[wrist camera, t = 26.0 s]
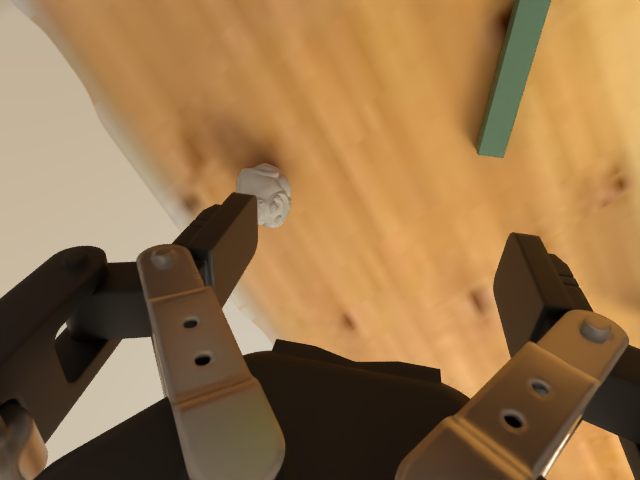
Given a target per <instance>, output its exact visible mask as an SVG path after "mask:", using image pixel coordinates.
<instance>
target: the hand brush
mask: <svg viewBox="0 0 640 480" xmlns="http://www.w3.org/2000/svg"><path fill="white" fill-rule="evenodd" d="M550 2H551V0H515V1H514V4H513V8H512V12H511V16H510V20H509V23H508V27H507V31H506V35H505V39H504V42H503V46H502V50H501V54H500V57H499V61H498V65H497V69H496V73H495V76H494V80H493V84H492V88H491V91H490V95H489V99H488V103H487V107H486V110H485V114H484V118H483V122H482V126H481V129H480V133H479V137H478V141H477V144H476V151H477V153H478V155H484V156H492V157H500V158H503V157H504V154H505V151H506V147H507V144H508V141H509V137H510V134H511V131H512V127H513V124H514V121H515V118H516V114H517V111H518V108H519V104H520V101H521V98H522V94H523V91H524V88H525V85H526V81H527V78H528V75H529V71H530V68H531V65H532V61H533V58H534V55H535V52H536V48H537V45H538V42H539V38H540V35H541V32H542V28H543V25H544V22H545V19H546V15H547V12H548V9H549V5H550Z"/></svg>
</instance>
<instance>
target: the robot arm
mask: <svg viewBox="0 0 640 480" xmlns="http://www.w3.org/2000/svg"><path fill="white" fill-rule="evenodd" d="M257 242H258V206H257V197H256V196H255V195H250V194H243V193H236V192H233V193H231V195H230V196H229V197H228V198H227V199H226V200H225V201H224V202H223V204H222V205H217V204H215V205H213V206H211V207H209V208H207V209H205V210H203V211H202V212H201V213H200V214H199V215H198V216H197V217H196V220H193V222H192V223H191V224H190V226H188V227H187V228H186V229H185V230H184V231H183V232H182V233H181V234H180V235H179V236H178V237H177V239H176V240H175V241H174V242H173V243H172V244H163V245H157V246H154V247H151V248H148V249H147V250H145V251H143V252H142V253H141V254H140V255H139V256H138V257H137V260H136V261H137V262H120V263H107V258H106V254H105V252H104V251H103V250H102V249H100V248H98V247H93V246H78V247H72V248H69V249H65V250H63V251H60V252H58V253H57V254H55V255H53V256H52V257H51V258H49V259H48V260H47V261H46V262H44V263H43V264H42V265H41V266H40V267H38V268H37V269H36V270H35V271H33V272H32V273H31V274H30V275H29V276H27V277H26V278H25V279H24V280H23V281H21V282H20V283H19V284H18V285H16V286H15V287H14V288H13V289H12V290H10V291H9V292H8V293H7V294H6V295H4V296H3V297H2V298H1V299H0V480H546V479H545V477H546V475H547V474H548V472H549V471H550V469H551V468H552V466H553V465H554V463H555V461H556V460H557V458H558V457H559V455H560V454H561V452H562V451H563V449H564V448H565V446H566V445H567V443H568V442H569V440H570V439H571V437H572V436H573V434H574V433H575V431H576V430H577V428H578V427H579V425H580V424H581V422H582V420H584V421H586V422H589V423H591V424H593V425H595V426H598V427H600V428H602V429H605V430H607V431H609V432H612V433H614V434H616V435H618V436H619V440H620V442H621V445H622V447H623V450H624V452H625V455H626V457H627V460H628V463H629V465H630V468H631V470H632V473H633V475H634V478H635V480H640V349H638V348H635V347H633V346H631V345H628V344H629V339H628V336H627V334H626V333H625V332H624V330H623V329H622V328H621V327H620V326H618V325H617V324H616V323H615V322H613V321H612V320H610V319H608V318H606V317H604V316H602V315H600V314H597V313H594V312H593V310H592V308H591V306H590V305H589V303H588V301H587V299H586V297H585V296H584V294H583V292H582V290H581V288H579V287H578V286H579V285H578V283H577V281H576V280H575V278H573V277H574V276H573V274H572V272H571V271H570V269H569V267H568V265H567V264H565V263H564V262H563V261H562V260H561V259H559V258H558V257H557V256H556V255H555V254H548V253H547V251H546V249H545V247H544V245H543V243H542V241H541V239H540V237H539V236H535V235H528V234H521V233H514V232H512V233H511V234H510V235H509V237H508V239H507V242H506V245H505V248H504V251H503V254H502V256H501V259H500V262H499V265H498V268H497V271H496V274H495V278H494V285H493V291H494V297H495V300H496V304H497V308H498V312H499V315H500V319H501V323H502V327H503V330H504V334H505V338H506V342H507V345H508V349H509V353H510V357H511V359H510V360H509V361H508V362H507V363H506V364H505V365H504V366H503V367H502V368H501V369H500V370H499V371H498V372H497V373H496V374H495V375H494V376H493V377H492V378H491V379H490V380H489V381H488V382H487V383H486V384H485V385H484V386H483V387H482V388H481V389H480V390H479V391H478V392H477V393H476V394H475V395H474V396H473V397H472V398H471V399H470V398H468V397H467V396H466V395H464V394H462V393H461V392H459V391H458V390H456V389H454V388H452V387H450V386H448V385H446V384H444V383H441V373H440V369H436V368H431V367H426V366H420V365H415V364H409V363H404V362H355V361H351V360H349V359H346V358H344V357H341V356H339V355H336V354H334V353H331V352H329V351H326V350H324V349H321V348H319V347H316V346H312V345H306V344H301V343H296V342H290V341H285V340H279V339H276V341H275V344H274V347H273V349H272V351H261V352H254V353H250V354H246V355H243V356H242V353H241V351H240V349H239V347H238V344H237V342H236V340H235V338H234V335H233V333H232V331H231V329H230V327H229V324H228V322H227V320H226V318H225V315H224V313H223V311H222V308H223V306H224V304H225V303H226V301H227V299H228V298H229V296H230V294H231V293H232V291H233V289H234V288H235V286H236V284H237V283H238V281H239V279H240V278H241V276H242V274H243V273H244V271H245V269H246V267H247V266H248V264H249V262H250V261H251V259H252V257H253V256H254V254H255V251H256V248H257ZM65 322H66V324H67V328H66V329H65V330H64V331H63V332H62V333H61V334H60V335H59V336H58V337H57V338H56V339H55V337H56V334H57V332H58V330H59V329H60V327H61V326H62V325H63V324H64V323H65ZM138 337H139V338H140V337H151V340H152V345H153V349H154V353H155V358H156V362H157V366H158V371H159V376H160V380H161V384H162V389H163V394H164V399H162V400H160V401H158V402H157V403H155V404H153V405H151V406H150V407H148V408H146V409H144V410H143V411H141V412H139V413H137V414H136V415H134V416H132V417H131V418H129V419H127V420H125V421H124V422H122V423H120V424H118V425H117V426H115V427H113V428H111V429H110V430H108V431H106V432H104V433H103V434H101V435H100V436H97V437H96V438H94V439H92V440H90V441H89V442H87V443H85V444H84V445H82V446H80V447H78V448H76V449H75V450H73V451H71V452H69V453H68V454H66V455H64V456H63V457H61V458H60V459H58V460H56V461H55V462H53V463H52V464H51V465H49V466H48V467H47V468H45V466H46V463H47V458H48V451H47V448H46V446H45V443H46V442H47V441H48V439H49V438H50V437H51V435H52V434H53V433H54V431H55V430H56V429H57V427H58V426H59V424H60V423H61V422H62V420H63V419H64V418H65V416H66V415H67V414H68V412H69V411H70V410H71V408H72V407H73V405H74V404H75V403H76V401H77V400H78V398H79V397H80V396H81V395H82V393H83V392H84V391H85V389H86V388H87V386H88V385H89V384H90V382H91V381H92V380H93V378H94V377H95V375H96V374H97V373H98V372H99V370H100V369H101V367H102V366H103V365H104V363H105V362H106V360H107V359H108V358H109V357H110V355H111V354H112V353H113V351H114V350H115V348H116V347H117V346H118V344H119V343H120V341H121V340H122V339H125V338H138ZM44 468H45V469H44Z"/></svg>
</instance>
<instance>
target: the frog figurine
mask: <svg viewBox="0 0 640 480" xmlns="http://www.w3.org/2000/svg"><path fill="white" fill-rule="evenodd" d="M236 192H237V193H243V194H250V195H255V196H256V197H257V206H258V225H260V224H262V225H263V226H265V227H268V228H273V229H274V228H277V227H279V226H280V225H281V224H282V223H283V222H284V220H285V219H286V217H287V215H288V213H289V211H290V208H291V198H290V197H289V196H291V193H292V191H291V186H290V184H289V182H288V179H287V178H286V176H285V175H284V173H283V172H282V171H281V170H280V169H278V168H277V167H275V166H273V165H270V164H268V163H263V164H260V165H257V166H256V167H254V168H243V169H242V171H241V172H240V174H239V176H238V178H237V181H236Z"/></svg>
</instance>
